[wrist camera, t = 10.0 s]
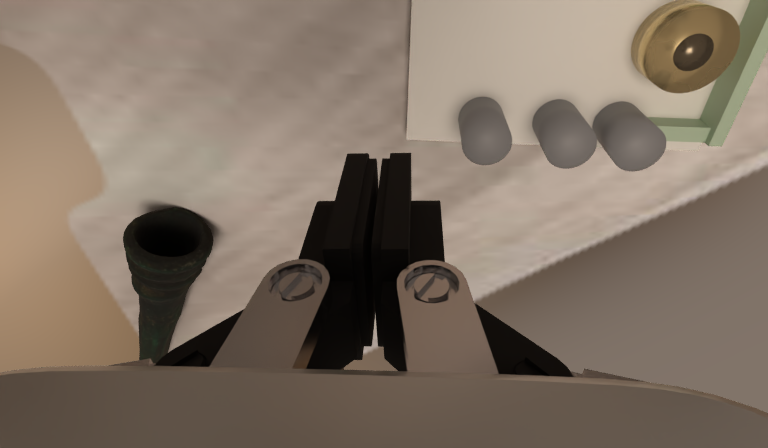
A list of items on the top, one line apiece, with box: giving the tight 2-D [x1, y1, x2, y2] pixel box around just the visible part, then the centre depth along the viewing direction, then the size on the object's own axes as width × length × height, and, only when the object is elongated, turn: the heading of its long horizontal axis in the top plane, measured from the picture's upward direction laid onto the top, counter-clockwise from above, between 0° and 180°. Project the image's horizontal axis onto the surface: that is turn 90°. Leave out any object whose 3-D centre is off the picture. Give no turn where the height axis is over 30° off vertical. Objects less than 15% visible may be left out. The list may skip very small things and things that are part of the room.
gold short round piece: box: [631, 0, 740, 93], centre depth 26 cm, size 5×5×3 cm
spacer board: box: [406, 0, 768, 171], centre depth 26 cm, size 14×20×5 cm
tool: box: [123, 208, 213, 364], centre depth 44 cm, size 28×6×7 cm, turn 152°
